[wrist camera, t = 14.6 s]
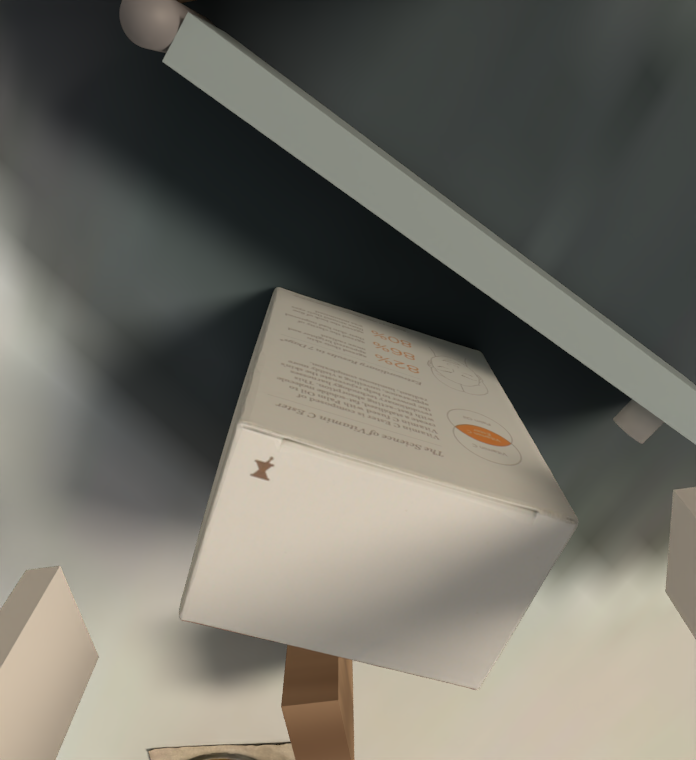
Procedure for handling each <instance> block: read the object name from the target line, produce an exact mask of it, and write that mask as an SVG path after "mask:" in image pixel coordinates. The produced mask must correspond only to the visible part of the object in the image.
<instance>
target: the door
mask: <svg viewBox="0 0 696 760" xmlns="http://www.w3.org/2000/svg"><path fill="white" fill-rule="evenodd" d="M119 16H120V22H121V26H122V28H123V30H124V32H125V34H126V35H127V37H128V38H129V39H130V40H131V41H132V42H133V43H135V44H136V45H138V46H140V47H142V48H146V49H150V50H154V51H159V52H163V53H166V55H165V57H164V59H163V61H162V62H164V63H165V64H166V65H168V66H169V67H171V68H172V69H173V70H175V71H176V72H178V73H179V74H180V75H182V76H183V77H185V78H186V79H187V80H189V81H190V82H191V83H193V84H194V85H196V86H197V87H198V88H200V89H201V90H203V91H204V92H205V93H207V94H208V95H210V96H211V97H212V98H214V99H215V100H217V101H218V102H219V103H221V104H222V105H224V106H225V107H226V108H228V109H229V110H230V111H232V112H233V113H235V114H236V115H237V116H239V117H240V118H242V119H243V120H244V121H246V122H247V123H249V124H250V125H251V126H253V127H254V128H256V129H257V130H258V131H260V132H261V133H263V134H264V135H265V136H267V137H268V138H269V139H271V140H272V141H274V142H275V143H276V144H278V145H279V146H281V147H282V148H283V149H285V150H286V151H288V152H289V153H290V154H292V155H293V156H295V157H296V158H297V159H299V160H300V161H302V162H303V163H304V164H306V165H307V166H308V167H310V168H311V169H313V170H314V171H315V172H317V173H318V174H320V175H321V176H322V177H324V178H325V179H327V180H328V181H329V182H331V183H332V184H334V185H335V186H336V187H338V188H339V189H341V190H342V191H343V192H345V193H346V194H347V195H349V196H350V197H352V198H353V199H354V200H356V201H357V202H359V203H360V204H361V205H363V206H364V207H366V208H367V209H368V210H370V211H371V212H373V213H374V214H375V215H377V216H378V217H380V218H381V219H382V220H384V221H385V222H387V223H388V224H389V225H391V226H392V227H393V228H395V229H396V230H398V231H399V232H400V233H402V234H403V235H405V236H406V237H407V238H409V239H410V240H412V241H413V242H414V243H416V244H417V245H419V246H420V247H421V248H423V249H424V250H426V251H427V252H428V253H430V254H431V255H432V256H434V257H435V258H437V259H438V260H439V261H441V262H442V263H444V264H445V265H446V266H448V267H449V268H451V269H452V270H453V271H455V272H456V273H458V274H459V275H460V276H462V277H463V278H465V279H466V280H467V281H469V282H470V283H471V284H473V285H474V286H476V287H477V288H478V289H480V290H481V291H483V292H484V293H485V294H487V295H488V296H490V297H491V298H492V299H494V300H495V301H497V302H498V303H499V304H501V305H502V306H504V307H505V308H506V309H508V310H509V311H510V312H512V313H513V314H515V315H516V316H517V317H519V318H520V319H522V320H523V321H524V322H526V323H527V324H529V325H530V326H531V327H533V328H534V329H536V330H537V331H538V332H540V333H541V334H543V335H544V336H545V337H547V338H548V339H549V340H551V341H552V342H554V343H555V344H556V345H558V346H559V347H561V348H562V349H563V350H565V351H566V352H568V353H569V354H570V355H572V356H573V357H575V358H576V359H577V360H579V361H580V362H582V363H583V364H584V365H586V366H587V367H588V368H590V369H591V370H593V371H594V372H595V373H597V374H598V375H600V376H601V377H602V378H604V379H605V380H607V381H608V382H609V383H611V384H612V385H614V386H615V387H616V388H618V389H619V390H621V391H622V392H623V393H625V394H626V395H627V396H629V397H630V398H632V400H631V401H630V402H629V403H628V404H627V405H626V406H625V407H624V408H623V409H622V410H621V411H620V412H619V413H618V414H617V415H616V416H615V417H614V418H613V420H614V421H615V422H616V424H617V425H618V426H619V427H620V428H622V429H623V430H624V431H625V432H626V433H627V434H629V435H630V436H631V437H632V438H634V439H635V440H637V441H638V442H640V443H644V442H645V441H646V440H647V439H648V438H649V437H650V436H651V435H652V434H653V433H654V432H655V431H656V430H657V429H658V428H659V427H660V426H661V425H662V424H663V423H664V422H665V423H666V424H668V425H669V426H671V427H672V428H673V429H675V430H676V431H678V432H679V433H680V434H682V435H683V436H685V437H686V438H687V439H689V440H690V441H692V442H693V443H694V444H696V385H695V384H693V383H692V382H691V381H690V380H688V379H687V378H686V377H685V376H683V375H682V374H681V373H679V372H678V371H677V370H675V369H674V368H673V367H671V366H670V365H669V364H667V363H666V362H665V361H663V360H662V359H661V358H659V357H658V356H657V355H655V354H654V353H653V352H651V351H650V350H649V349H647V348H646V347H645V346H643V345H642V344H641V343H639V342H638V341H637V340H635V339H634V338H633V337H631V336H630V335H629V334H627V333H626V332H625V331H623V330H622V329H621V328H619V327H618V326H617V325H615V324H614V323H613V322H611V321H610V320H609V319H607V318H606V317H605V316H603V315H602V314H601V313H599V312H598V311H597V310H595V309H594V308H593V307H591V306H590V305H589V304H587V303H586V302H585V301H583V300H582V299H581V298H579V297H578V296H577V295H575V294H574V293H573V292H571V291H570V290H569V289H567V288H566V287H565V286H563V285H562V284H561V283H559V282H558V281H557V280H555V279H554V278H553V277H551V276H550V275H549V274H547V273H546V272H545V271H543V270H542V269H541V268H539V267H538V266H537V265H535V264H534V263H533V262H531V261H530V260H529V259H527V258H526V257H525V256H523V255H522V254H521V253H519V252H518V251H517V250H515V249H514V248H513V247H511V246H510V245H509V244H507V243H506V242H505V241H503V240H502V239H501V238H499V237H498V236H497V235H495V234H494V233H493V232H491V231H490V230H489V229H487V228H486V227H485V226H483V225H482V224H481V223H479V222H478V221H477V220H475V219H474V218H473V217H471V216H470V215H469V214H467V213H466V212H465V211H463V210H462V209H461V208H459V207H458V206H457V205H455V204H454V203H453V202H451V201H450V200H449V199H447V198H446V197H445V196H443V195H442V194H441V193H439V192H438V191H437V190H435V189H434V188H433V187H431V186H430V185H429V184H427V183H426V182H425V181H423V180H422V179H421V178H419V177H418V176H417V175H415V174H414V173H413V172H411V171H410V170H409V169H407V168H406V167H405V166H403V165H402V164H401V163H399V162H398V161H397V160H395V159H394V158H393V157H391V156H390V155H389V154H387V153H386V152H385V151H383V150H382V149H381V148H379V147H378V146H377V145H375V144H374V143H373V142H371V141H370V140H369V139H367V138H366V137H365V136H363V135H362V134H361V133H359V132H358V131H357V130H355V129H354V128H353V127H351V126H350V125H349V124H347V123H346V122H345V121H343V120H342V119H341V118H339V117H338V116H337V115H335V114H334V113H333V112H331V111H330V110H329V109H327V108H326V107H325V106H323V105H322V104H321V103H319V102H318V101H317V100H315V99H314V98H313V97H311V96H310V95H309V94H307V93H306V92H305V91H303V90H302V89H301V88H299V87H298V86H297V85H295V84H294V83H293V82H291V81H290V80H289V79H287V78H286V77H285V76H283V75H282V74H281V73H279V72H278V71H277V70H275V69H274V68H273V67H271V66H270V65H269V64H267V63H266V62H265V61H263V60H262V59H261V58H259V57H258V56H257V55H255V54H254V53H253V52H251V51H250V50H249V49H247V48H246V47H245V46H243V45H242V44H241V43H239V42H238V41H237V40H235V39H234V38H233V37H231V36H230V35H229V34H227V33H226V32H224V31H223V30H221V29H219V28H217V27H215V25H214V24H213V23H212V22H211V21H210V20H209V19H208V18H206V17H204V16H202V15H201V14H199V13H197V12H195V11H194V10H192V9H190V8H188V7H187V6H185V5H183V4H181V3H180V2H178V1H176V0H122V2H121V5H120V11H119Z"/></svg>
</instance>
